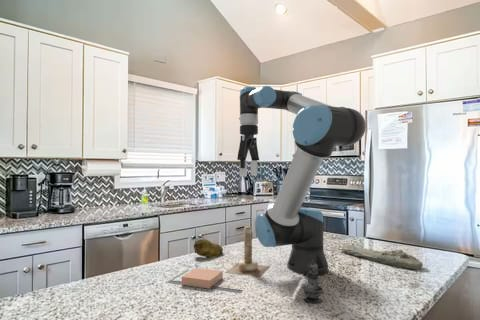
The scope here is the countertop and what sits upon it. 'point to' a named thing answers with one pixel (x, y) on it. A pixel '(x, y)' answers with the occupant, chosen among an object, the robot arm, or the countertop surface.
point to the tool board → (257, 273)
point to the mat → (210, 288)
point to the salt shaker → (312, 285)
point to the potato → (207, 248)
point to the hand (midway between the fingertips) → (248, 176)
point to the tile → (202, 278)
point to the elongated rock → (384, 257)
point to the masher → (248, 253)
